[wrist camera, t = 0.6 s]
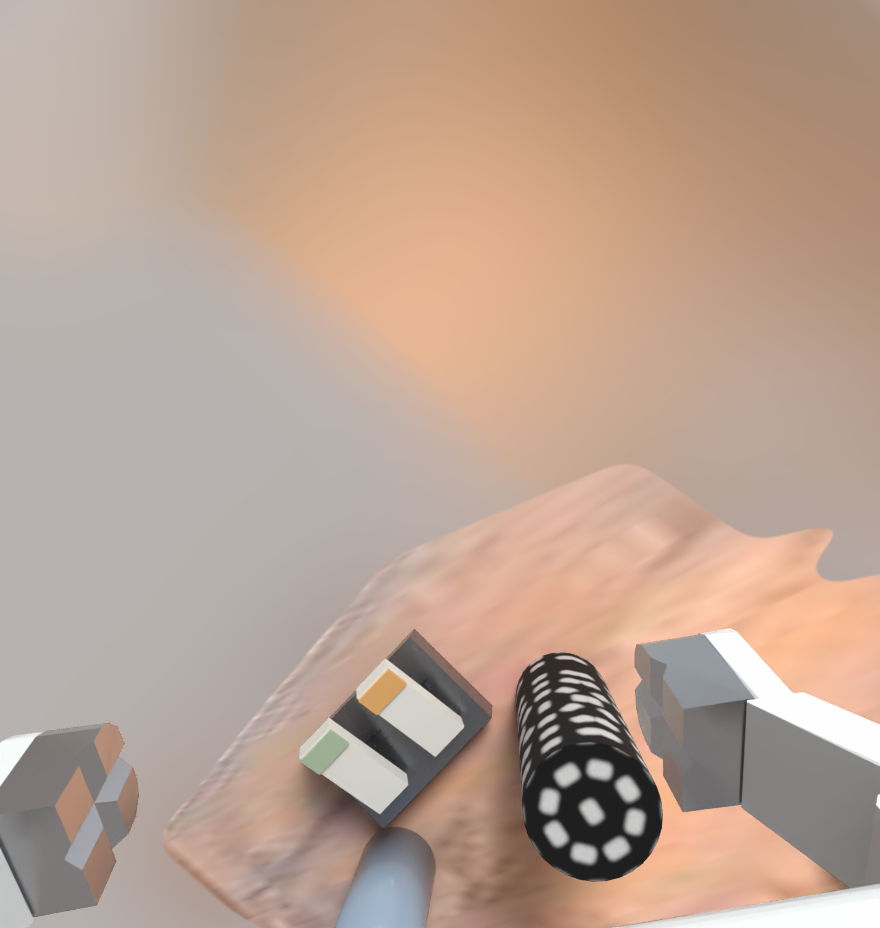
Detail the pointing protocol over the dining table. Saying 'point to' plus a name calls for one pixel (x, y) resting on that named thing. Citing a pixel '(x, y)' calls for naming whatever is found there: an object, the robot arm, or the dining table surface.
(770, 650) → the dining table surface
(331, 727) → the paddle
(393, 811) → the panel
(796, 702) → the robot arm
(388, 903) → the blue cylinder
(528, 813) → the white-spotted black cylinder
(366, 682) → the paddle
